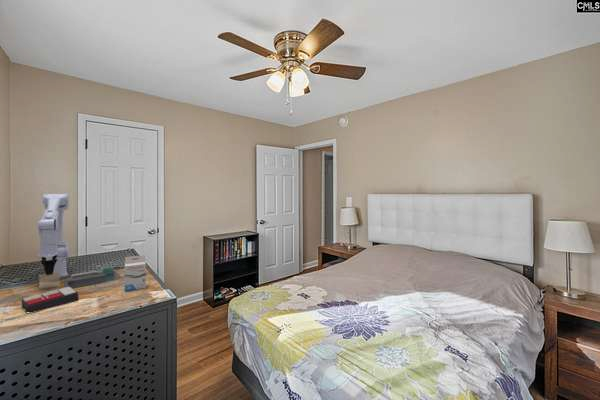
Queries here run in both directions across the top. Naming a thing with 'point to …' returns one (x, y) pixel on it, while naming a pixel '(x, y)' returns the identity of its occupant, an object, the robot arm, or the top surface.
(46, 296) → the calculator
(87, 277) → the vise base
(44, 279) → the birch block
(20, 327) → the top surface
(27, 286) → the top surface
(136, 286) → the ink box
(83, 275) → the sliding jaw
